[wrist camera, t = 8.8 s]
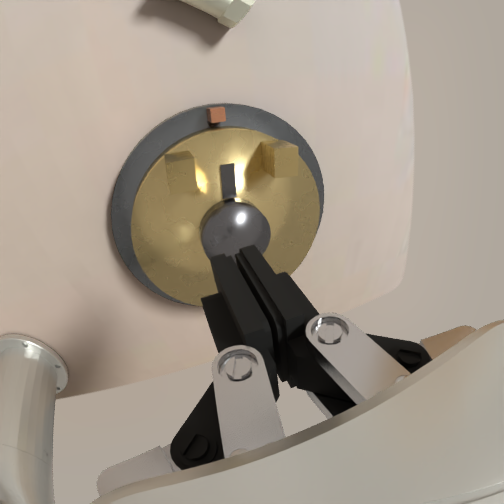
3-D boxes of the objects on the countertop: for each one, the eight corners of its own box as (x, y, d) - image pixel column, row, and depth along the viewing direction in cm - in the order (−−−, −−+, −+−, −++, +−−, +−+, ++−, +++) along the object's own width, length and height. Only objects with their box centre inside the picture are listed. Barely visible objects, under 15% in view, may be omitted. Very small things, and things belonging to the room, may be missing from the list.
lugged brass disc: (304, 273, 37) (326, 301, 32) (153, 307, 32) (157, 343, 28) (310, 120, 27) (341, 129, 23) (115, 143, 23) (107, 156, 18)
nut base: (264, 310, 40) (273, 327, 37) (92, 276, 30) (89, 294, 27) (348, 157, 33) (365, 165, 30) (160, 68, 22) (162, 65, 20)
